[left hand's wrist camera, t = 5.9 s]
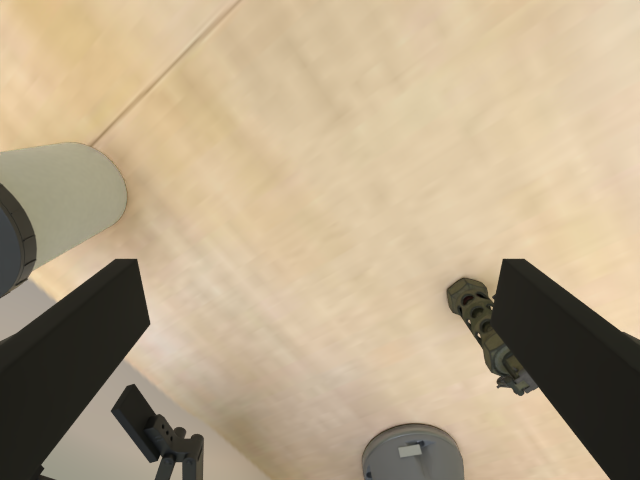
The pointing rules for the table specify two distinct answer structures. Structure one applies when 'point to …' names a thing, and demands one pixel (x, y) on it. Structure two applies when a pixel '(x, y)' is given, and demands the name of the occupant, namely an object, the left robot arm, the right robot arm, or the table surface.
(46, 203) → the jar
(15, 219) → the lid
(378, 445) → the right robot arm
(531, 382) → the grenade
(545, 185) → the table surface
